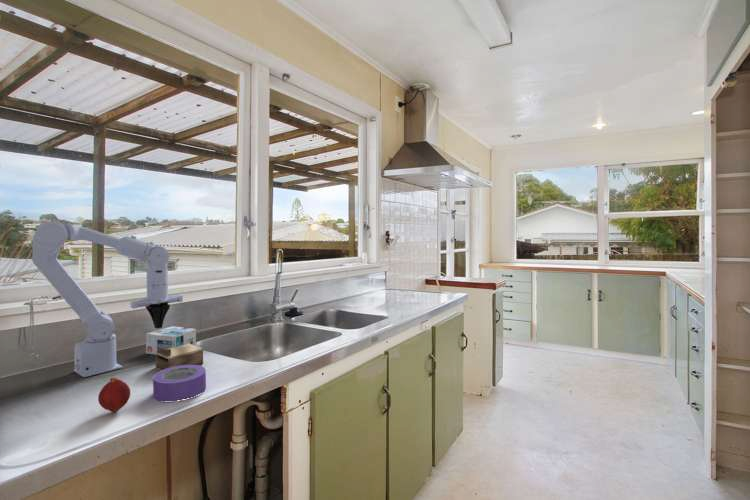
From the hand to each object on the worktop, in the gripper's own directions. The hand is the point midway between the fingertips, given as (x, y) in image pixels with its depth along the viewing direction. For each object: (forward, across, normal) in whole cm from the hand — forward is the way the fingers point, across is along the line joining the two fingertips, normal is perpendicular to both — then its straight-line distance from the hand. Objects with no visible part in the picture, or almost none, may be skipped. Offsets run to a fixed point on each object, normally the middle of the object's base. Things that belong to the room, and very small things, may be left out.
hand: (158, 327), depth 118 cm
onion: (+10, -22, -28) cm, 37 cm away
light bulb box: (+7, +12, +7) cm, 15 cm away
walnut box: (+10, +1, -11) cm, 15 cm away
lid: (+6, +1, -11) cm, 12 cm away
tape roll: (+10, -8, -29) cm, 32 cm away
